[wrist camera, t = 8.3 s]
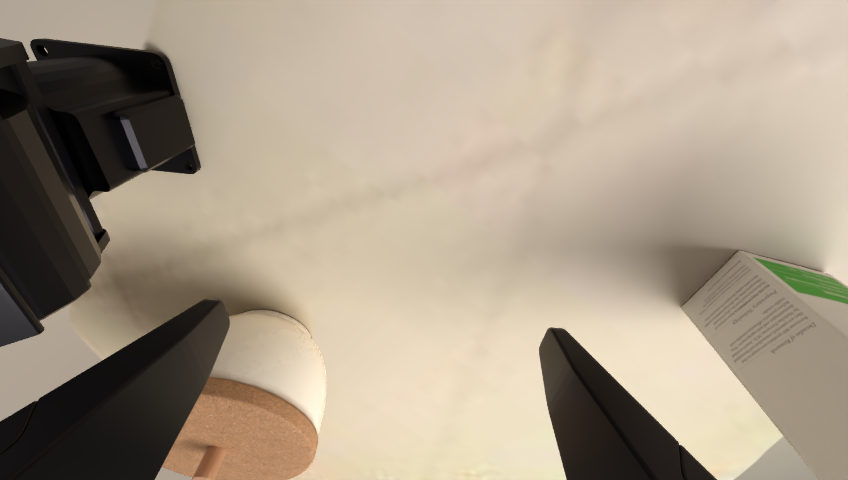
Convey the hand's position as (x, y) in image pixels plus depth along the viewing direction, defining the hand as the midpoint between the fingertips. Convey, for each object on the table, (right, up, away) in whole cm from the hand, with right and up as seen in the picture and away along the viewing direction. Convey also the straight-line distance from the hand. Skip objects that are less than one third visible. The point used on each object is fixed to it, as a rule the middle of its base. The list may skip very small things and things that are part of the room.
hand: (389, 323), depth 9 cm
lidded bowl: (-13, -6, +21) cm, 25 cm away
